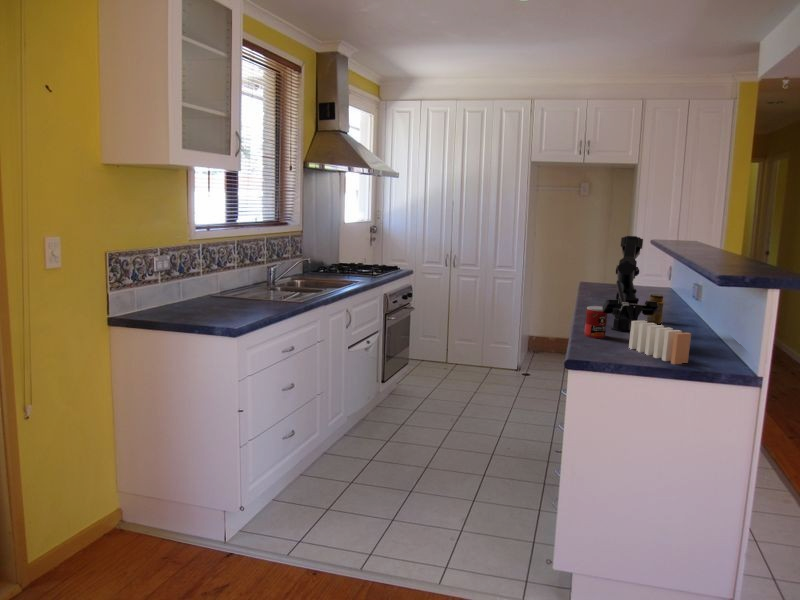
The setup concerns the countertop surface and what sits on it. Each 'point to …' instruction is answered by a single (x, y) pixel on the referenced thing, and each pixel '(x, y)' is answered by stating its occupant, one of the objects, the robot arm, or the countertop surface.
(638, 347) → the domino
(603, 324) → the canned food
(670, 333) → the domino
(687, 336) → the domino
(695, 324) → the countertop surface
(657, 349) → the domino
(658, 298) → the condiment
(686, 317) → the countertop surface
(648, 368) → the countertop surface
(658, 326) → the domino
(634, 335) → the domino
